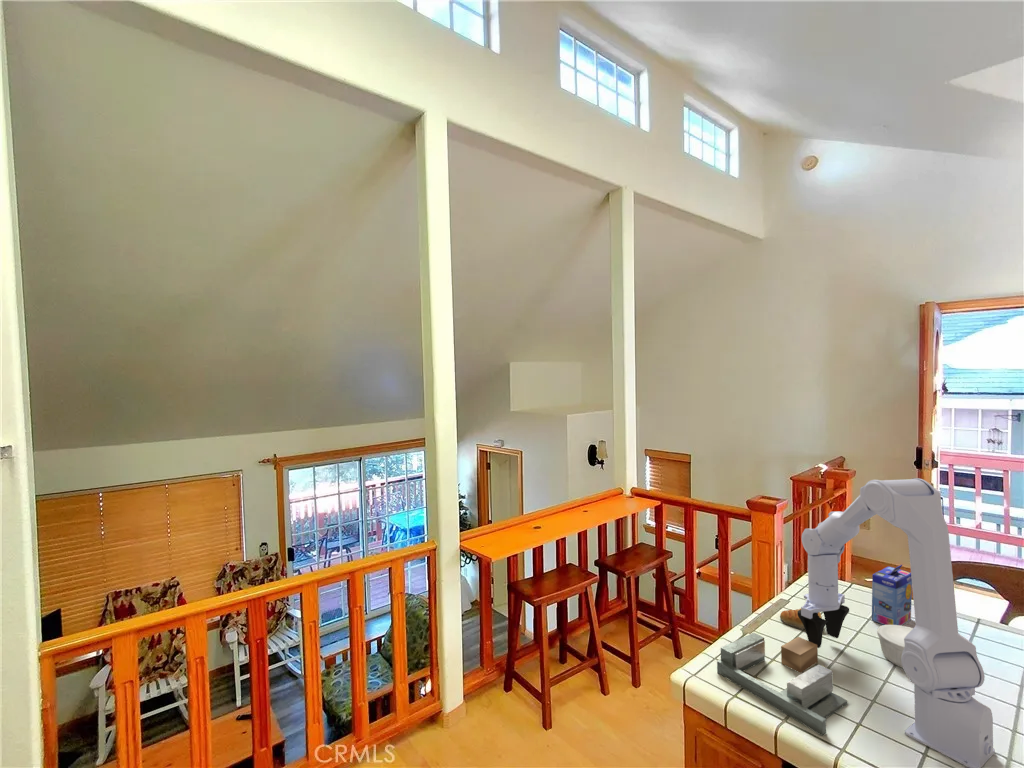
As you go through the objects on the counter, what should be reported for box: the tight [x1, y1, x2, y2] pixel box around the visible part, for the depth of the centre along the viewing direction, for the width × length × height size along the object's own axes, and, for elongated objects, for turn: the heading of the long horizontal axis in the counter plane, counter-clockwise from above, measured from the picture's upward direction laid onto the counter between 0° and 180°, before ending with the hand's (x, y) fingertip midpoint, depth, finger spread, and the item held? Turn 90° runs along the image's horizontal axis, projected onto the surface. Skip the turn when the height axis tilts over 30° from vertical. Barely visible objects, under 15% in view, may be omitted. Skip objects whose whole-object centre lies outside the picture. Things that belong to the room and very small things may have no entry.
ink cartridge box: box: [871, 564, 913, 626], centre depth 121 cm, size 10×6×14 cm, turn 122°
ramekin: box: [876, 625, 914, 669], centre depth 103 cm, size 11×11×5 cm
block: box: [780, 636, 819, 674], centre depth 104 cm, size 4×7×4 cm, turn 121°
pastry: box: [779, 608, 823, 630], centre depth 120 cm, size 9×7×4 cm
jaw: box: [786, 664, 834, 708], centre depth 91 cm, size 3×11×4 cm, turn 120°
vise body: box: [716, 632, 848, 736], centre depth 95 cm, size 21×13×5 cm, turn 30°
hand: (824, 640), depth 108 cm, fingers open, 7 cm apart
